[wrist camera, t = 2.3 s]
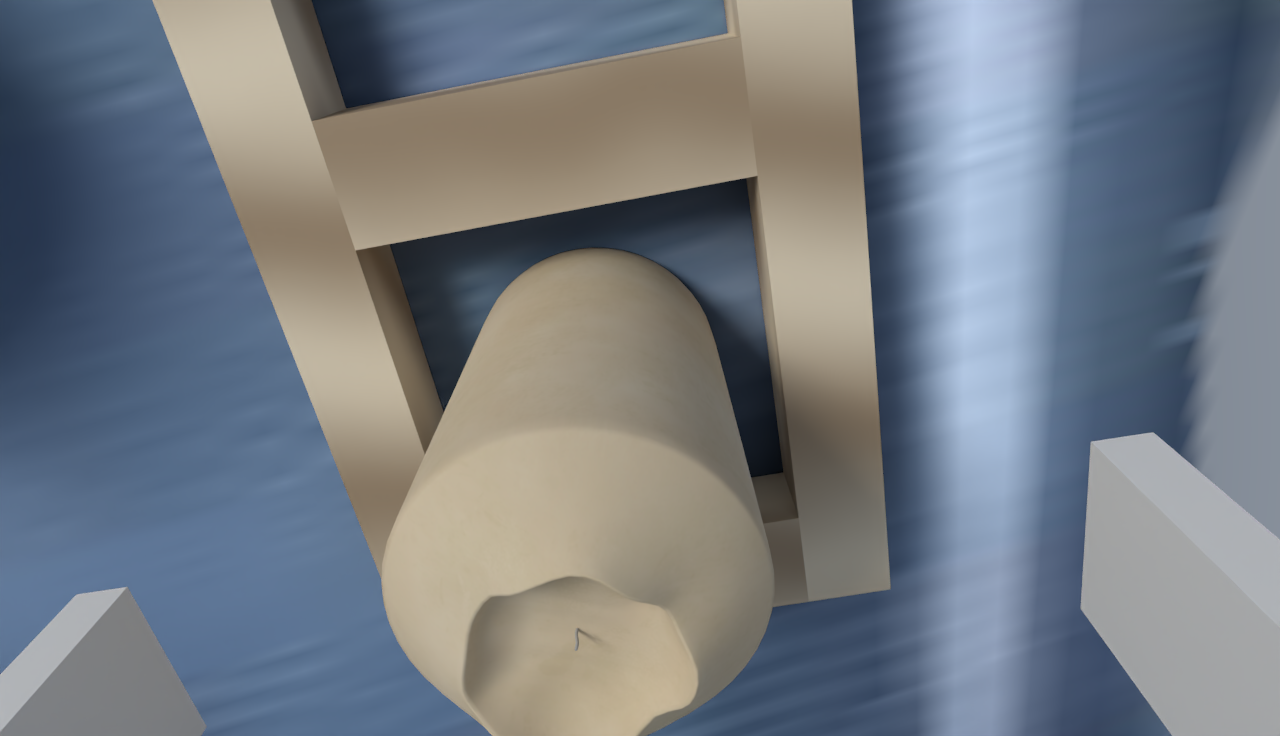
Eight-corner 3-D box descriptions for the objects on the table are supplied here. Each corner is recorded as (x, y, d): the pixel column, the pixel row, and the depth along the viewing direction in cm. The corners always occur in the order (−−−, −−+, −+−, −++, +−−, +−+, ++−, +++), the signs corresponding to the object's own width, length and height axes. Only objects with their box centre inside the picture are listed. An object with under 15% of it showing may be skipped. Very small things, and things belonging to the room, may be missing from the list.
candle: (503, 218, 18) (370, 447, 8) (742, 273, 18) (858, 541, 9) (466, 432, 20) (329, 796, 11) (681, 475, 20) (724, 853, 11)
